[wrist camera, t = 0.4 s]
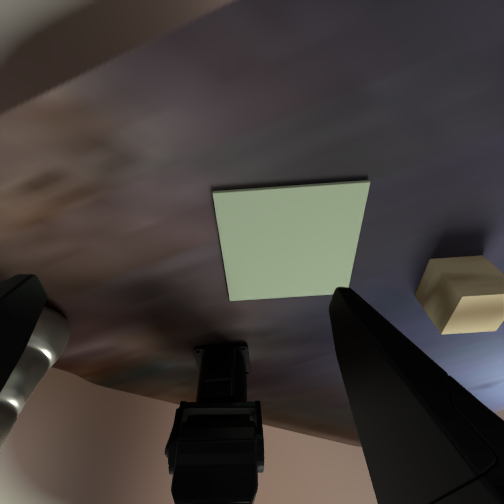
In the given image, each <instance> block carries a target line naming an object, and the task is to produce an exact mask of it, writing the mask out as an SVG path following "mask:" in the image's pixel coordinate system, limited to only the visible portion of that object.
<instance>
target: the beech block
mask: <svg viewBox="0 0 504 504" xmlns="http://www.w3.org/2000/svg"><path fill="white" fill-rule="evenodd" d="M415 297H416V298H417V300H418V301H419V303H420V304H421V306H422V307H423V309H424V310H425V312H426V313H427V315H428V316H429V318H430V319H431V321H432V322H433V323H434V325H435V326H436V328H437V329H438V331H439V332H440V334H456V333H472V332H488V331H496V330H497V329H498V327H499V326H500V325H501V323H502V322H503V321H504V274H503V273H502V272H501V271H500V270H499V269H498V268H496V267H495V266H494V265H493V264H492V263H491V262H490V261H489V260H487V259H486V258H485V257H484V256H483V255H481V256H466V257H451V258H436V259H430V260H429V262H428V265H427V267H426V269H425V272H424V274H423V276H422V279H421V281H420V284H419V286H418V288H417V291H416V293H415Z"/></svg>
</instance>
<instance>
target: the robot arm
mask: <svg viewBox="0 0 504 504" xmlns="http://www.w3.org/2000/svg"><path fill="white" fill-rule="evenodd" d="M46 300H47V295H46V292H45V290H44V288H43V286H42V284H41V282H40V280H39V278H38V277H37V276H36V275H33V274H18V275H15V276H13V277H11V278H9V279H7V280H5V281H3V282H1V283H0V393H1V391H2V389H3V388H4V386H5V384H6V382H7V381H8V379H9V377H10V375H11V374H12V372H13V370H14V368H15V367H16V365H17V363H18V361H19V360H20V358H21V356H22V354H23V352H24V350H25V348H26V346H27V344H28V342H29V340H30V338H31V335H32V333H33V331H34V329H35V326H36V324H37V322H38V319H39V317H40V315H41V312H42V310H43V308H44V306H45V303H46ZM329 314H330V320H331V326H332V332H333V339H334V345H335V351H336V356H337V360H338V364H339V367H340V371H341V374H342V378H343V381H344V385H345V388H346V392H347V396H348V399H349V403H350V406H351V410H352V413H353V417H354V420H355V424H356V428H357V431H358V435H359V438H360V442H361V445H362V449H363V452H364V456H365V459H366V463H367V467H368V470H369V474H370V477H371V481H372V484H373V488H374V492H375V495H376V498H377V502H378V504H504V420H502V419H501V418H500V417H499V416H497V415H496V414H495V413H494V412H492V411H491V410H490V409H489V408H487V407H486V406H485V405H484V404H483V403H481V402H480V401H479V400H478V399H477V398H476V397H474V396H473V395H472V394H471V393H470V392H468V391H467V390H466V389H465V388H464V387H463V386H462V385H460V384H459V383H458V382H457V381H456V380H455V379H454V378H452V377H451V376H448V374H447V372H445V371H444V370H443V369H442V368H441V367H440V366H439V365H437V364H436V363H435V362H434V361H433V360H432V359H431V358H430V357H428V356H427V355H426V354H425V353H424V352H423V351H422V350H420V349H419V348H418V347H417V346H416V345H415V344H414V343H412V342H411V341H410V340H409V339H408V338H407V337H406V336H405V335H403V334H402V333H401V332H400V331H399V330H398V329H397V328H395V327H394V326H393V325H392V324H391V323H390V322H389V321H387V320H386V319H385V318H384V317H383V316H382V315H381V314H380V313H378V312H377V311H376V310H375V309H374V308H373V307H372V306H370V305H369V304H368V303H367V302H366V301H365V300H364V299H362V298H361V297H360V296H359V295H358V294H357V293H356V292H355V291H353V290H352V289H351V288H349V287H337V288H336V289H335V291H334V293H333V296H332V299H331V302H330V305H329ZM194 354H195V357H196V360H197V363H198V366H199V369H200V373H199V381H198V389H197V397H196V402H186V401H181V403H180V407H179V408H178V409H176V414H175V420H174V425H173V428H172V431H171V434H170V437H169V440H168V442H167V445H166V448H165V455H166V457H167V458H168V464H169V474H170V475H172V474H173V479H172V487H171V492H172V496H173V499H174V503H175V504H254V500H255V496H256V493H257V489H258V474H257V473H260V472H261V473H262V472H263V470H264V439H263V428H262V417H261V406H260V401H255V402H247V380H246V375H249V374H251V368H250V360H249V352H248V345H247V344H228V345H212V346H197V347H195V348H194Z"/></svg>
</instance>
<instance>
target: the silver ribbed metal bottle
mask: <svg viewBox="0 0 504 504" xmlns="http://www.w3.org/2000/svg"><path fill="white" fill-rule="evenodd" d="M69 337H70V329H69V325H68V322H67V320H66V319H65V318H64V317H63V316H62V315H61V314H59V313H58V312H56V311H54V310H52V309H50V308H48V307H45V306H44V308H43V310H42V312H41V315H40V317H39V319H38V322H37V324H36V326H35V329H34V331H33V333H32V335H31V338H30V340H29V342H28V344H27V346H26V348H25V350H24V352H23V354H22V356H21V358H20V360H19V361H18V363H17V365H16V367H15V368H14V370H13V372H12V374H11V375H10V377H9V379H8V381H7V382H6V384H5V386H4V388H3V389H2V391H1V393H0V453H1V450H2V448H3V446H4V443H5V441H6V439H7V437H8V435H9V433H10V431H11V429H12V428H13V426H14V424H15V422H16V420H17V416H18V415H19V414H20V412H21V410H22V408H23V406H24V405H25V403H26V401H27V400H28V398H29V397H30V395H31V394H32V392H33V391H34V389H35V388H36V387H37V385H38V384H39V382H40V381H41V379H42V378H43V376H44V375H45V373H46V372H47V370H48V369H49V368H50V367H51V366H52V365H53V364H54V363H55V362H56V361H57V359H58V358H59V357H60V355H61V354H62V352H63V351H64V350H65V348H66V345H67V342H68V339H69Z"/></svg>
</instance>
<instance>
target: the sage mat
mask: <svg viewBox="0 0 504 504" xmlns="http://www.w3.org/2000/svg"><path fill="white" fill-rule="evenodd" d="M369 186H370V181H369V180H363V181H349V182H334V183H320V184H306V185H292V186H278V187H264V188H250V189H236V190H222V191H213V199H214V205H215V212H216V218H217V224H218V230H219V236H220V243H221V249H222V255H223V261H224V267H225V274H226V280H227V286H228V292H229V298H230V301H238V300H253V299H268V298H283V297H298V296H313V295H329V294H333V293H334V291H335V289H336V288H337V287H349V282H350V277H351V272H352V267H353V263H354V258H355V253H356V248H357V243H358V239H359V234H360V229H361V224H362V220H363V215H364V210H365V205H366V200H367V196H368V191H369Z"/></svg>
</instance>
